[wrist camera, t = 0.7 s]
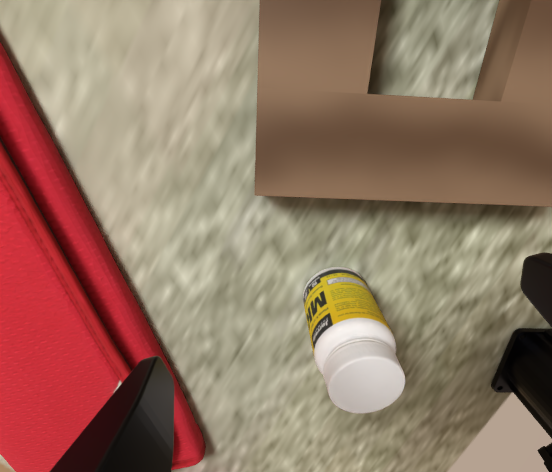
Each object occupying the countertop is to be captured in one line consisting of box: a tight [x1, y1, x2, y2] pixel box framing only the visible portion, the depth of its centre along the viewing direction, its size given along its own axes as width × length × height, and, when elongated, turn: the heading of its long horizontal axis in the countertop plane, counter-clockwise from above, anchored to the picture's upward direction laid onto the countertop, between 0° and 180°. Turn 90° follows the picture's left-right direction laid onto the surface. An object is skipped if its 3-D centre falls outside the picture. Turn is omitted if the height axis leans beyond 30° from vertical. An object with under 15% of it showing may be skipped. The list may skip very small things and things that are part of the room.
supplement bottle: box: [303, 267, 405, 413], centre depth 21 cm, size 5×5×8 cm
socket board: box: [255, 0, 552, 207], centre depth 17 cm, size 18×18×2 cm
